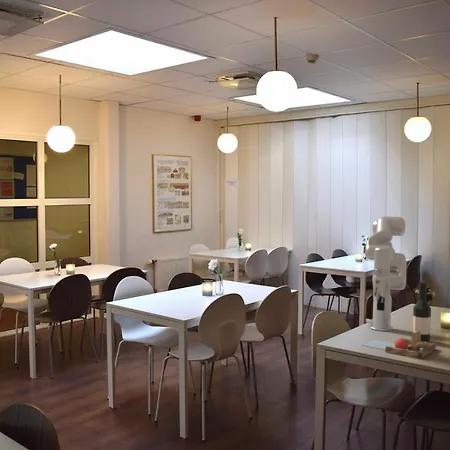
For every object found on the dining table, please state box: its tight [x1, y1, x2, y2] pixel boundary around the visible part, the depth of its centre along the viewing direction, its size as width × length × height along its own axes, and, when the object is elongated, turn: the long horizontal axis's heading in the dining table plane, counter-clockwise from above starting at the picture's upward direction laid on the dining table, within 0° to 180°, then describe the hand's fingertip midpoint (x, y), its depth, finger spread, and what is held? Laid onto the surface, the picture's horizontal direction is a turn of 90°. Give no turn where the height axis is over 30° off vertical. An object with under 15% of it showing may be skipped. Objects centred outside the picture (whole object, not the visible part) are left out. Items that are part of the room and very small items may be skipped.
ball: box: [394, 337, 408, 350], centre depth 254 cm, size 6×6×6 cm
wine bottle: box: [412, 280, 432, 343], centre depth 273 cm, size 8×8×30 cm
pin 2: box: [415, 331, 421, 351], centre depth 256 cm, size 2×2×9 cm
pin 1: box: [410, 332, 417, 352], centre depth 252 cm, size 2×2×9 cm
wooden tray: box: [384, 337, 437, 360], centre depth 255 cm, size 16×21×3 cm
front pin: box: [407, 341, 427, 350], centre depth 254 cm, size 2×2×9 cm
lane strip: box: [362, 339, 423, 352], centre depth 260 cm, size 28×14×1 cm, turn 52°
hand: (380, 310), depth 264 cm, fingers closed
